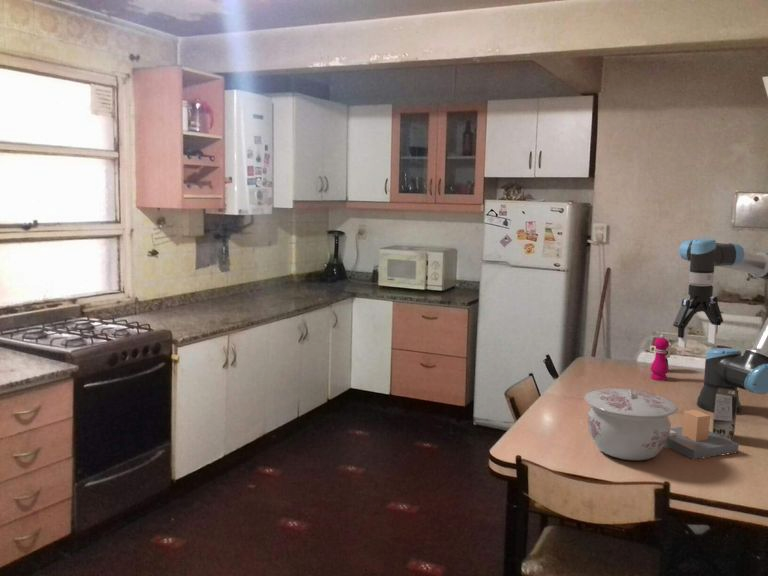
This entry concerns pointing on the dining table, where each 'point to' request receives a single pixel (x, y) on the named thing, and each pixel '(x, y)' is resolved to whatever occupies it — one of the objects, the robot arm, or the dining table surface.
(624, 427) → the chamber pot
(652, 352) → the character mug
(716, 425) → the coffee box
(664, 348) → the pepper mill
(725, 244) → the robot arm
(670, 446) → the socket plate
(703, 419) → the tan rectangular block
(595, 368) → the dining table surface
